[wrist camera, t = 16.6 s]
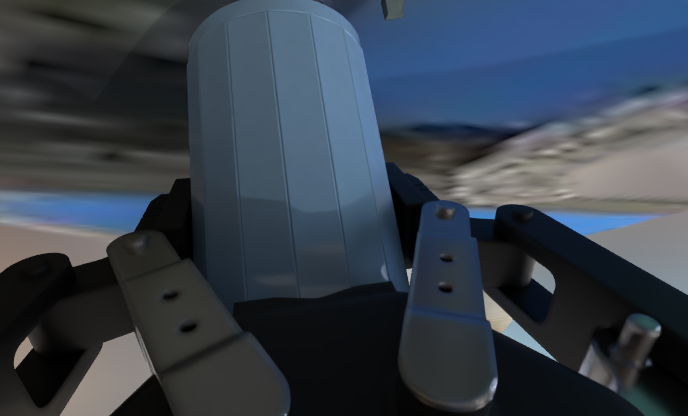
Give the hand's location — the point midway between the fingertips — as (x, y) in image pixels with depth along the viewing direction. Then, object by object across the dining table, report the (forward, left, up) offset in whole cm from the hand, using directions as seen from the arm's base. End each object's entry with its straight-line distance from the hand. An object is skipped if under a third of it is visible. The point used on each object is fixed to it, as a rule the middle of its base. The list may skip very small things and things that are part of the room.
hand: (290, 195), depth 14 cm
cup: (-1, -1, -4) cm, 5 cm away
